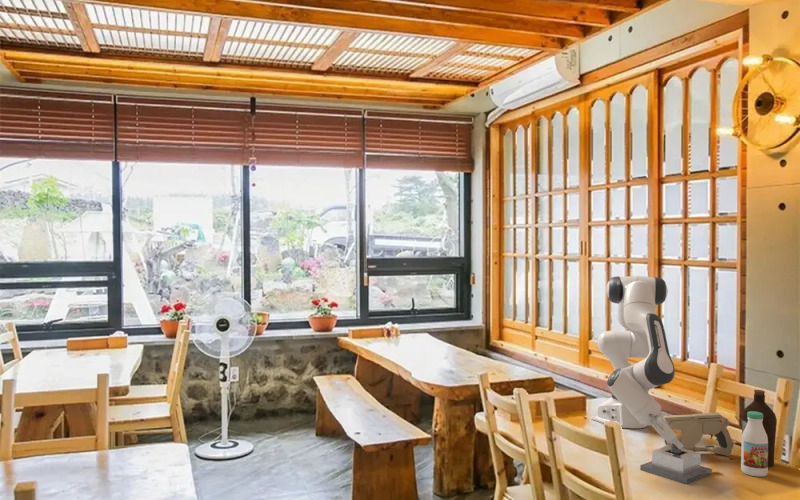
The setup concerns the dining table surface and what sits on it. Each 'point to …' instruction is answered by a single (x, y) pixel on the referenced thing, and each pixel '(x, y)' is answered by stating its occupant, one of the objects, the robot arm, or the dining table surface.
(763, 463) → the milk bottle
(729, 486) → the dining table surface
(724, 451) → the gun
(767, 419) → the olive oil
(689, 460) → the block
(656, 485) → the dining table surface
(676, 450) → the battery
